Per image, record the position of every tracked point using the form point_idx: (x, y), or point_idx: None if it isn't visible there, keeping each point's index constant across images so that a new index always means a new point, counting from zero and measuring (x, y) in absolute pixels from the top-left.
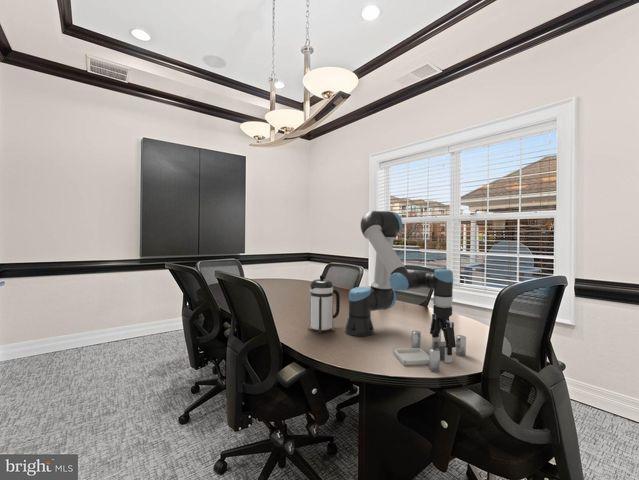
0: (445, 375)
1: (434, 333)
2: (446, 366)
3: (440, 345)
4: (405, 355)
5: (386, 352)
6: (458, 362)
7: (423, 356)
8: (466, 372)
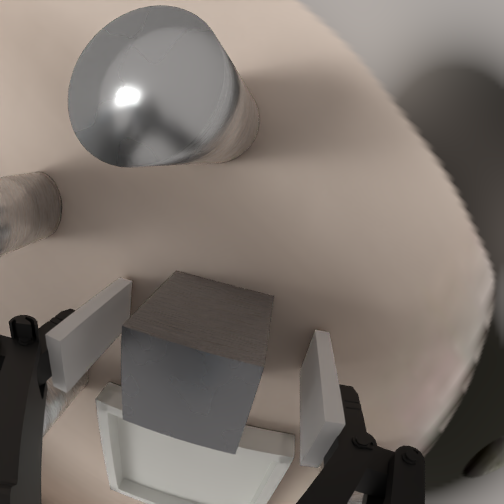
0: (414, 446)
1: (42, 422)
2: None
3: (219, 435)
4: (158, 474)
5: (107, 479)
6: (342, 271)
7: None
8: (465, 336)
